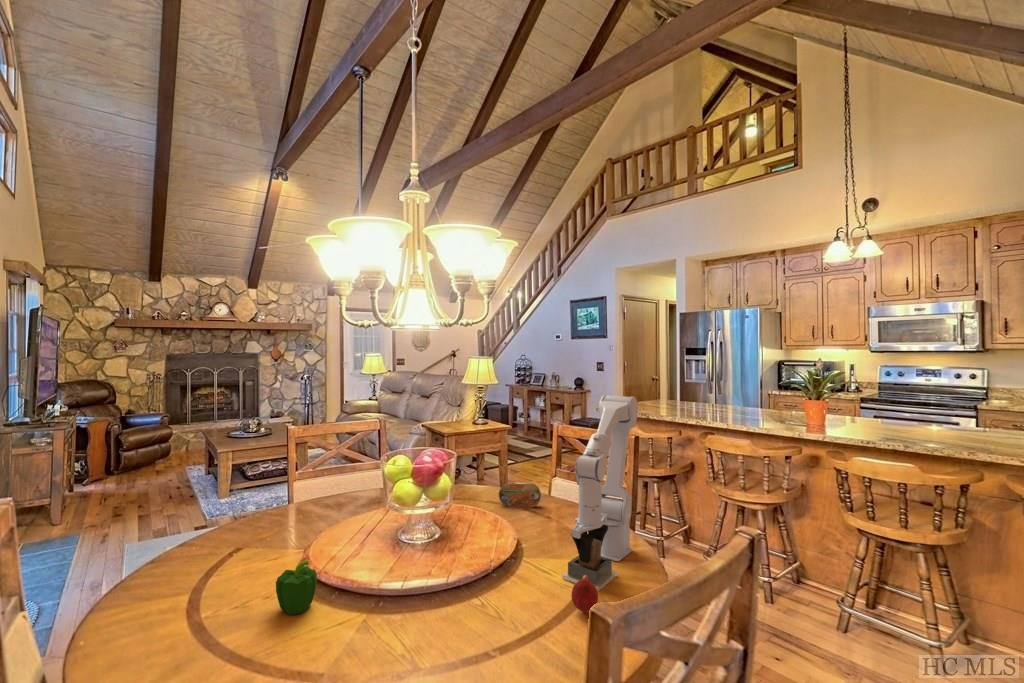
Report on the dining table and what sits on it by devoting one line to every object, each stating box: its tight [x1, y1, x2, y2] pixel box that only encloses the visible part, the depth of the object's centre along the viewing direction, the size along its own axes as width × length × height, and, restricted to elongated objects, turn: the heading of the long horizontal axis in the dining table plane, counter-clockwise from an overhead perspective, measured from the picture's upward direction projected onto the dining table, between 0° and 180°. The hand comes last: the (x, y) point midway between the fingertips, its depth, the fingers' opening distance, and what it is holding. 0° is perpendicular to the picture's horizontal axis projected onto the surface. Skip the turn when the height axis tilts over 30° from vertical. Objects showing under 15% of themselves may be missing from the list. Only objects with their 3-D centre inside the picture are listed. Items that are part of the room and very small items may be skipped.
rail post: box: [579, 539, 601, 569], centre depth 125 cm, size 4×4×8 cm
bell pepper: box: [275, 559, 318, 616], centre depth 110 cm, size 8×8×10 cm
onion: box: [571, 575, 599, 614], centre depth 108 cm, size 6×6×8 cm
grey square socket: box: [561, 555, 618, 592], centre depth 125 cm, size 10×10×4 cm
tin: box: [498, 481, 542, 509], centre depth 178 cm, size 15×3×8 cm, turn 80°
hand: (589, 557), depth 125 cm, fingers open, 5 cm apart
